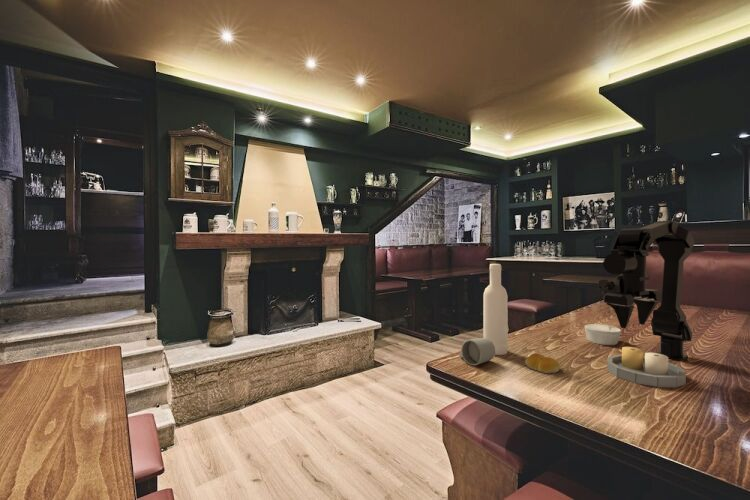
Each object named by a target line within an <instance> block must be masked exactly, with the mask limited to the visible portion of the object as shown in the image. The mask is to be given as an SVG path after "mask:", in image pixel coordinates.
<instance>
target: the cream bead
mask: <svg viewBox="0 0 750 500" xmlns="http://www.w3.org/2000/svg"><path fill="white" fill-rule="evenodd" d="M644 357H645V373H647V374H651V375H664V376H668V362H669V358H668V357H667V356H666V355H663V354H658V353H657V352H645V353H644Z"/></svg>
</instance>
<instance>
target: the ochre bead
mask: <svg viewBox="0 0 750 500" xmlns="http://www.w3.org/2000/svg"><path fill="white" fill-rule="evenodd" d="M621 355H622V366H623V367H626V368H629V369H634V370H642V369H643V357H644V350H643V349H641V348H639V347H634V346H622V347H621Z"/></svg>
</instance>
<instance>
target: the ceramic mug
mask: <svg viewBox="0 0 750 500" xmlns="http://www.w3.org/2000/svg"><path fill="white" fill-rule="evenodd" d="M495 356H496V355H495V347H494V345H493V343H492V342H491V341H490V340H488V339H486V338H484V337H480V338H479V337H478V338H474V339H473V338H472V339H471V338H470V339H466V340H465V341H464V342H463V344H462V345H461V352H459V357H460V358H463V360H464V361H465V362H466V364H468V365H471V366H479V365H481V364H484V363H486V362H487V363H488V362H489V361H491V360H493V358H494V357H495Z"/></svg>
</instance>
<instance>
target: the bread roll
mask: <svg viewBox="0 0 750 500" xmlns="http://www.w3.org/2000/svg"><path fill="white" fill-rule="evenodd" d="M524 363H525V365H526V366H527V368H529V369H531V370H532V371H533V370H534V371H538V372H539V373H543V374H553V373H558V372H559V371H560V365H561V364H560V363H559V361H558V360H557V359H555V358H553V357H548V356H545V355H543V354H541V353H538V352H537V353H532V354H530V355H529V356H527V357H526V358H525V361H524Z"/></svg>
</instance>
